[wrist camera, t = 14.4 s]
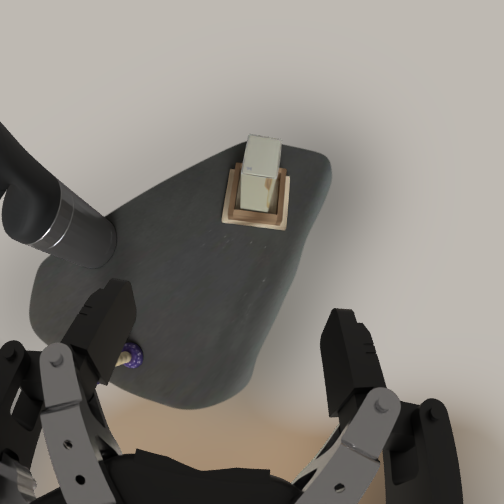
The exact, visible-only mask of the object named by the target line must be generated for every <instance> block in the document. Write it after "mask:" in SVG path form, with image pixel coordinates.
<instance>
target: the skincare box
mask: <svg viewBox="0 0 504 504" xmlns="http://www.w3.org/2000/svg"><path fill="white" fill-rule="evenodd" d="M281 141H282V140H280V139H275V138H270V137H265V136H259V135H253V134H250V135H249V136H248V140H247V144H246V149H245V154H244V159H243V165H242V170H241V197H240V210H244V211H252V212H260V213H267V214H268V210H269V206H270V202H271V198H272V194H273V190H274V187H275V183H276V180H277V176H278V170H279V164H280V155H281Z"/></svg>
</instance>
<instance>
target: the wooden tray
mask: <svg viewBox="0 0 504 504" xmlns="http://www.w3.org/2000/svg"><path fill="white" fill-rule="evenodd" d="M242 165H243V163H236V166H235V170H234V169H230V173H229V179H228V185H227V191H226V197H225V203H224V209H223V215H222V222H223V223H231V224H239V225H248V226H256V227H263V228H271V229H279V230H285V229H286V224H287V212H288V198H289V185H290V177H288V176H286V169H283V168H279V170H278V176H277V180H276V183H275V187H274V190H273V194H272V198H271V202H270V206H269V210H268V214H267V213H260V212H252V211H244V210H240V197H241V170H242Z"/></svg>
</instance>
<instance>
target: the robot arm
mask: <svg viewBox="0 0 504 504" xmlns="http://www.w3.org/2000/svg"><path fill="white" fill-rule="evenodd" d="M6 190H7V191H6ZM5 192H6V195H5V197H4V201H3V207H2V222H3V227H4V230H5V232H6V233H7V234H8V235H9V236H10V237H11V238H12V239H14V240H16V241H18V242H20V243H23V244H26V245H28V246H31V247H33V248H36V249H38V250H41V251H43V252H46V253H48V254H51V255H54V256H56V257H59V258H61V259H64V260H67V261H69V262H72V263H75V264H77V265H80V266H83V267H86V268H90V269H95V268H99V267H101V266H103V265H104V264H105V263H107V262H108V261H109V259H110V258H111V257H112V255H113V253H114V251H115V247H116V242H117V236H116V231H115V228H114V226H113V225H112V223H111V222H110V221H109V220H107V219H106V218H105V217H103V216H102V215H101V214H100V213H99V212H97V211H96V210H95V209H93V208H92V207H91V206H89V204H87V203H86V202H85V201H84V200H82V199H81V198H80V197H78V196H77V195H76V194H75V193H74V192H73V191H71V190H70V189H69V188H68V187H67V186H65V185H64V184H63V183H62V182H61V181H59V180H58V179H57V178H56V177H55V176H53V175H52V174H51V173H50V172H49V171H48V170H46V169H45V168H44V167H43V166H42V165H41V164H40V163H39V162H38V161H36V160H35V159H34V158H33V157H32V156H31V155H30V154H29V153H28V152H27V151H26V150H25V149H24V148H23V147H22V146H21V145H20V144H19V142H18V141H17V140H16V139H15V138H14V137H13V136H12V135H11V133H10V132H9V131H8V130H7V129H6V127H4V125H3V124H2V123H1V122H0V199H1V197H2V196H3V194H4V193H5ZM135 320H136V305H135V301H134V296H133V291H132V286H131V283H130V282H129V281H125V280H119V279H114V278H112V279H111V280H110V281H109V282H108V284H107V285H106V287H105V288H104V289H99V290H97V291H96V292H95V293H93V294H92V295H91V296H90V297H89V298H88V300H87V301H86V303H85V304H84V307H82V309H81V310H80V312H79V314H78V315H77V317H76V318H75V320H74V321H73V323H72V324H71V326H70V328H69V329H68V331H67V333H66V334H65V336H64V337H63V339H62V341H61V342H60V343H53V344H50V345H49V346H47V347H46V348H45V349H44V350H43V351H26V350H25V348H24V347H23V345H22V344H21V343H20V342H19V341H15V340H13V341H9V342H7V343H5V344H4V345H3V346H2V348H1V349H0V504H358V502H359V501H360V499H361V498H362V496H363V494H364V493H365V491H366V489H367V488H368V486H369V485H370V483H371V482H372V480H373V478H374V476H375V475H376V473H377V471H378V469H379V467H380V461H379V460H378V457H379V455H380V453H381V451H382V450H383V460H384V472H385V489H386V504H463V494H462V484H461V477H460V469H459V463H458V457H457V452H456V447H455V442H454V437H453V432H452V428H451V424H450V420H449V416H448V412H447V409H446V407H445V406H444V404H443V403H442V402H441V401H439V400H437V399H433V398H430V399H427V400H425V401H424V402H423V403H422V404H421V405H416V404H412V403H407V402H403V401H400V400H399V398H398V397H397V395H396V394H395V393H394V392H393V391H391V390H389V389H387V387H386V384H385V381H384V377H383V373H382V370H381V367H380V363H379V360H378V356H377V354H376V350H375V346H373V344H374V343H373V340H372V337H371V334H370V332H369V331H368V330H367V328H366V327H365V326H364V324H363V323H357V321H356V318H355V315H354V312H353V311H352V310H351V309H338V308H337V309H336V308H334V309H333V310H332V311H331V314H330V316H329V318H328V321H327V323H326V325H325V328H324V330H323V332H322V335H321V339H320V350H321V357H322V363H323V371H324V378H325V386H326V394H327V402H328V410H329V417H339V425H338V426H337V427H336V429H335V430H334V431H333V433H332V434H331V436H330V437H329V439H328V440H327V442H326V443H325V444H324V446H323V447H322V448H321V450H320V451H319V452H318V454H317V455H316V456H315V457H314V459H313V460H312V461H311V462H310V463H309V464H308V465H307V466H306V467H305V468H304V469H303V470H302V471H301V472H300V474H299V475H298V476H297V477H296V478H295V479H294V481H293V482H292V483H290V482H288V481H286V480H284V479H282V478H279V477H276V476H273V475H270V470H266V469H247V468H230V469H220V470H209V471H200V470H197V469H194V468H192V467H189V466H187V465H184V464H182V463H180V462H178V461H176V460H174V459H171V458H169V457H167V456H162V455H158V454H154V453H151V452H147V451H143V450H140V449H136V453H135V454H122V452H121V450H120V448H119V446H118V444H117V442H116V440H115V439H114V437H113V435H112V434H111V432H110V430H109V427H108V425H107V422H106V419H105V417H104V414H103V411H102V408H101V405H100V402H99V399H98V396H97V393H96V390H95V388H96V386H97V383H100V384H104V385H106V386H107V385H108V382H109V380H110V377H111V375H112V373H113V370H114V368H115V365H116V363H117V361H118V358H119V356H120V354H121V352H122V349H123V347H124V345H125V343H126V340H127V338H128V336H129V334H130V332H131V329H132V327H133V325H134V323H135ZM19 388H20V389H21V393H20V395H19V398H18V400H17V402H16V405H15V407H14V410H13V413H12V415H11V414H10V409H11V406H12V403H13V401H14V398H15V396H16V394H17V391H18V389H19ZM42 428H43V432H44V436H45V440H46V444H47V448H48V452H49V455H50V459H51V462H52V465H53V468H54V471H55V474H56V477H57V480H58V483H59V485H60V487H59V488H57V489H55V490H53V491H51V492H49V493H47V494H46V495H43V496H41V497H39V498H37V499H36V497H35V495H34V489H35V488H36V486H37V484H36V481H35V480H34V479H33V477H32V474H31V472H30V467H31V463H32V459H33V456H34V452H35V448H36V445H37V441H38V438H39V435H40V432H41V429H42Z"/></svg>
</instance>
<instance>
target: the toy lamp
mask: <svg viewBox="0 0 504 504" xmlns="http://www.w3.org/2000/svg"><path fill="white" fill-rule="evenodd" d="M142 361H143V353H142V350H141V349H140V347H139V346H138V345H136V344H135V343H131V342H129V343H125V345H124V347H123V349H122V352H121V354H120V356H119V358H118V361H117V363H116V365H115V366H119V365H121V364H124V365H125V366H126V367H129V368H136V367H139V366H140V365H141V364H142ZM97 384H100V383H97Z"/></svg>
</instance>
